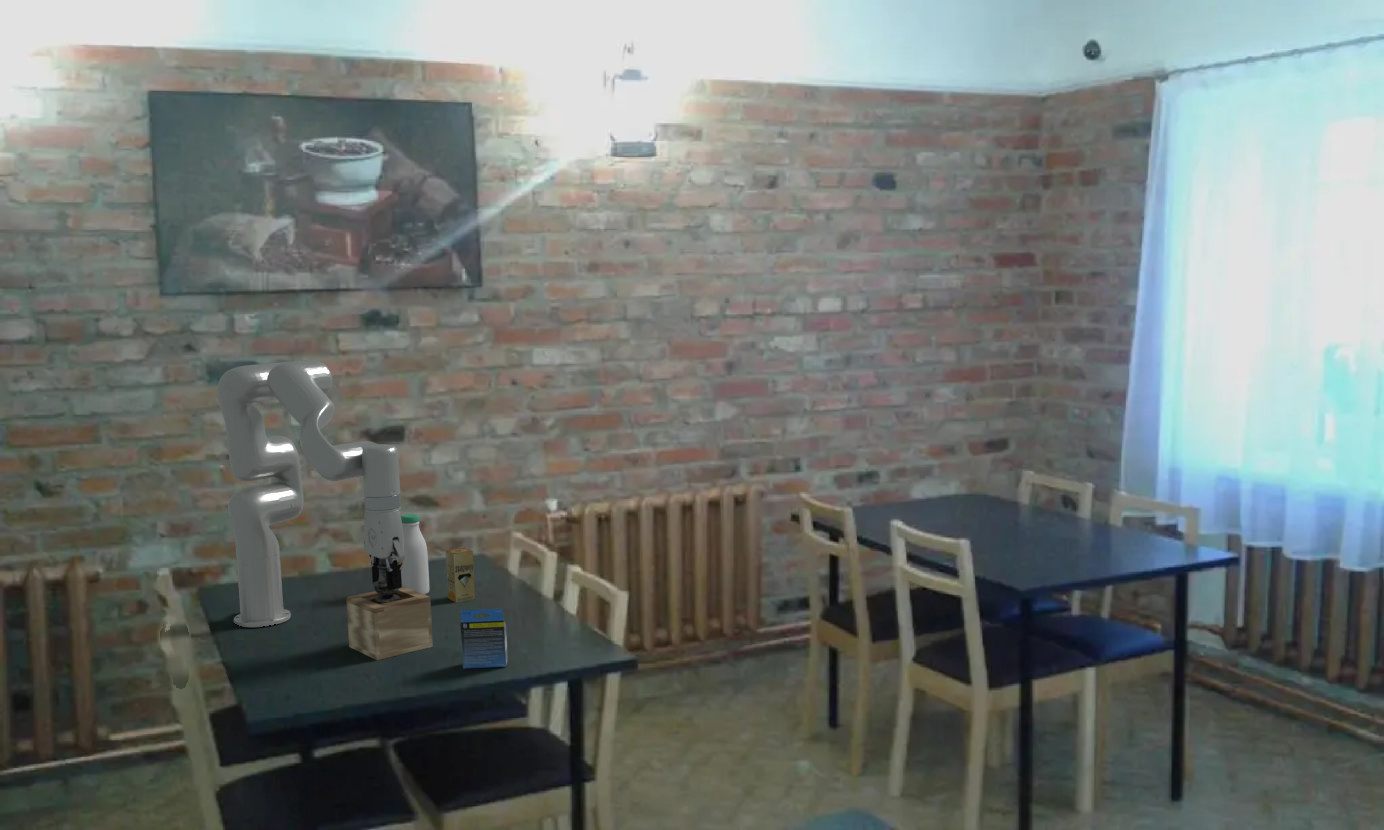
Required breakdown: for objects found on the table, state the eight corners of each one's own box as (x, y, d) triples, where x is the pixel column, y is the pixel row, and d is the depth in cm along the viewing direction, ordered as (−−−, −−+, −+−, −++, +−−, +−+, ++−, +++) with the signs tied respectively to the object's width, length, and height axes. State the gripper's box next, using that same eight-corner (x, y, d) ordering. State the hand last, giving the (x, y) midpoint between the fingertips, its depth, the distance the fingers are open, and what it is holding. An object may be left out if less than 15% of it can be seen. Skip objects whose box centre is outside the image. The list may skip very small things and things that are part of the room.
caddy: (349, 646, 268) (346, 597, 266) (403, 634, 276) (401, 585, 275) (376, 660, 258) (374, 608, 257) (432, 646, 266) (430, 596, 265)
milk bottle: (436, 591, 312) (432, 513, 310) (413, 599, 305) (409, 519, 303) (413, 588, 316) (409, 511, 314) (391, 595, 310) (387, 516, 307)
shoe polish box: (475, 599, 304) (472, 551, 303) (456, 602, 301) (453, 554, 300) (466, 595, 308) (464, 547, 307) (448, 598, 306) (445, 550, 304)
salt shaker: (394, 603, 262) (391, 547, 261) (368, 602, 264) (365, 547, 262) (406, 596, 268) (403, 541, 267) (381, 595, 269) (378, 541, 268)
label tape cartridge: (508, 661, 255) (505, 603, 254) (506, 667, 251) (503, 608, 250) (464, 663, 255) (462, 604, 253) (462, 669, 251) (459, 609, 249)
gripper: (348, 500, 267) (352, 582, 270) (385, 511, 254) (390, 596, 257) (380, 495, 272) (384, 575, 274) (418, 505, 259) (422, 590, 261)
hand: (387, 585), depth 266 cm, fingers closed on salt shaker, 5 cm apart
